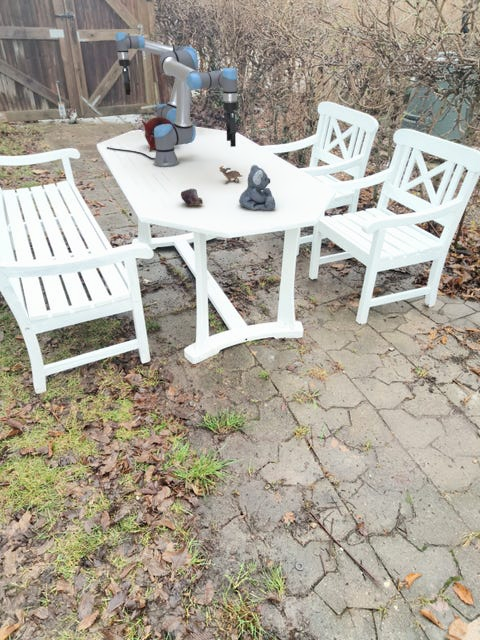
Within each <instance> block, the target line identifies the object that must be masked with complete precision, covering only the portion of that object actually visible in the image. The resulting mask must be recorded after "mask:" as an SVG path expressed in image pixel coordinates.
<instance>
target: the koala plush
mask: <svg viewBox="0 0 480 640" xmlns="http://www.w3.org/2000/svg"><path fill="white" fill-rule="evenodd" d="M270 183H271V178H269V176H268V175H267V173H266V172H265V170H264V169H263V168H261V167H259V165H257V164H253V165H250V170H249V173H248V176H247V188H246V189H245V190H244V191H243V192H242V193H241V194H240V197H239V199H238V203H239V204H240V206H241V207H242V208H246V209H247V210H252V211H255V210H261V211H272V210H274V209H275V208H276V200H275V198H274V196H273V194H272V191H271V188H270V187H268V186H269V185H270Z"/></svg>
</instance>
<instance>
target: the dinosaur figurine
mask: <svg viewBox="0 0 480 640" xmlns="http://www.w3.org/2000/svg"><path fill="white" fill-rule="evenodd" d="M219 172H220V173H222V174H223V176H225V178H226V179H227V180H226V182H225V183H224V184H225V185H227V184H228V183H230V182H231V180H232V182H236V183H237V184H239V183H240V178H242V177H243V175H241V174H240V172H239V171H237V170H232V168H231V167H226V168H225V167H224V165H222V166H220V167H219Z"/></svg>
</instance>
